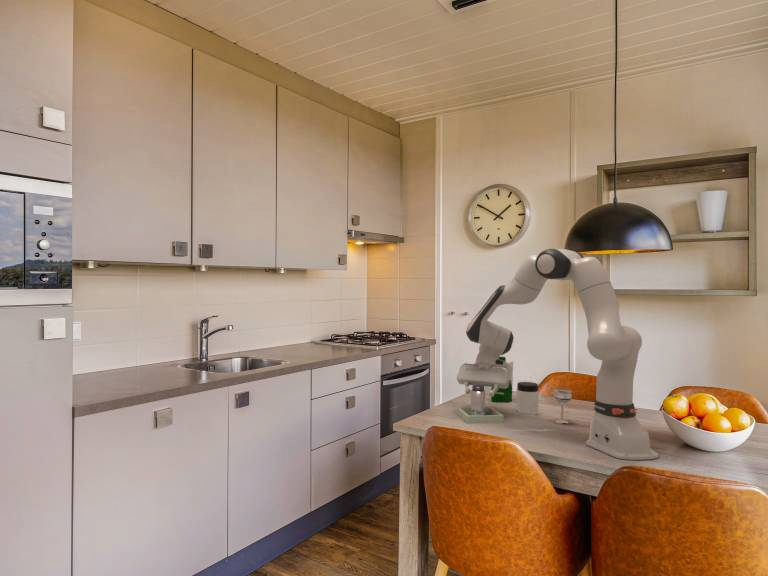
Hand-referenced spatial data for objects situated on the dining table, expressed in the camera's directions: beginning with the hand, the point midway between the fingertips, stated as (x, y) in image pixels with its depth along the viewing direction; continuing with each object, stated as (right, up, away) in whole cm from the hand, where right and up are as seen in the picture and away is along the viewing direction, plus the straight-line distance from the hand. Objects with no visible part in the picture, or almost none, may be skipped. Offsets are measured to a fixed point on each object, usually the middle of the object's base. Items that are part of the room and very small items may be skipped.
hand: (479, 394), depth 199 cm
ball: (+3, -9, +5) cm, 11 cm away
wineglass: (+32, -11, 0) cm, 33 cm away
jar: (+22, -10, +13) cm, 27 cm away
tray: (0, -10, +1) cm, 10 cm away
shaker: (-1, -9, -1) cm, 9 cm away
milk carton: (+16, -10, +33) cm, 38 cm away
